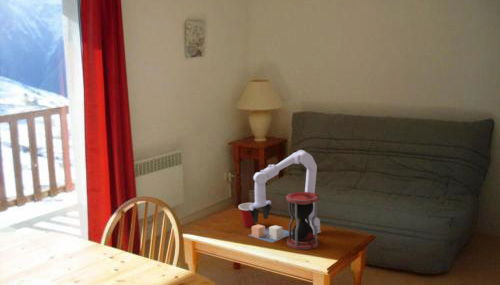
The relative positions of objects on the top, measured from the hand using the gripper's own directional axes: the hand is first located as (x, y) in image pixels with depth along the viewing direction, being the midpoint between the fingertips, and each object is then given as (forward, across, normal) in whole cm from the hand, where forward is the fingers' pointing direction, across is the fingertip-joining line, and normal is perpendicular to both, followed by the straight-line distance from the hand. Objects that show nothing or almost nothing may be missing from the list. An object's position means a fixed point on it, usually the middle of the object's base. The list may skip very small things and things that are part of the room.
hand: (260, 220), depth 292 cm
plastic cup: (+9, -8, -16) cm, 20 cm away
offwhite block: (+8, -4, +7) cm, 12 cm away
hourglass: (+9, -5, +24) cm, 26 cm away
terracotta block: (+8, +1, -1) cm, 8 cm away
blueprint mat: (+8, -5, +3) cm, 10 cm away
